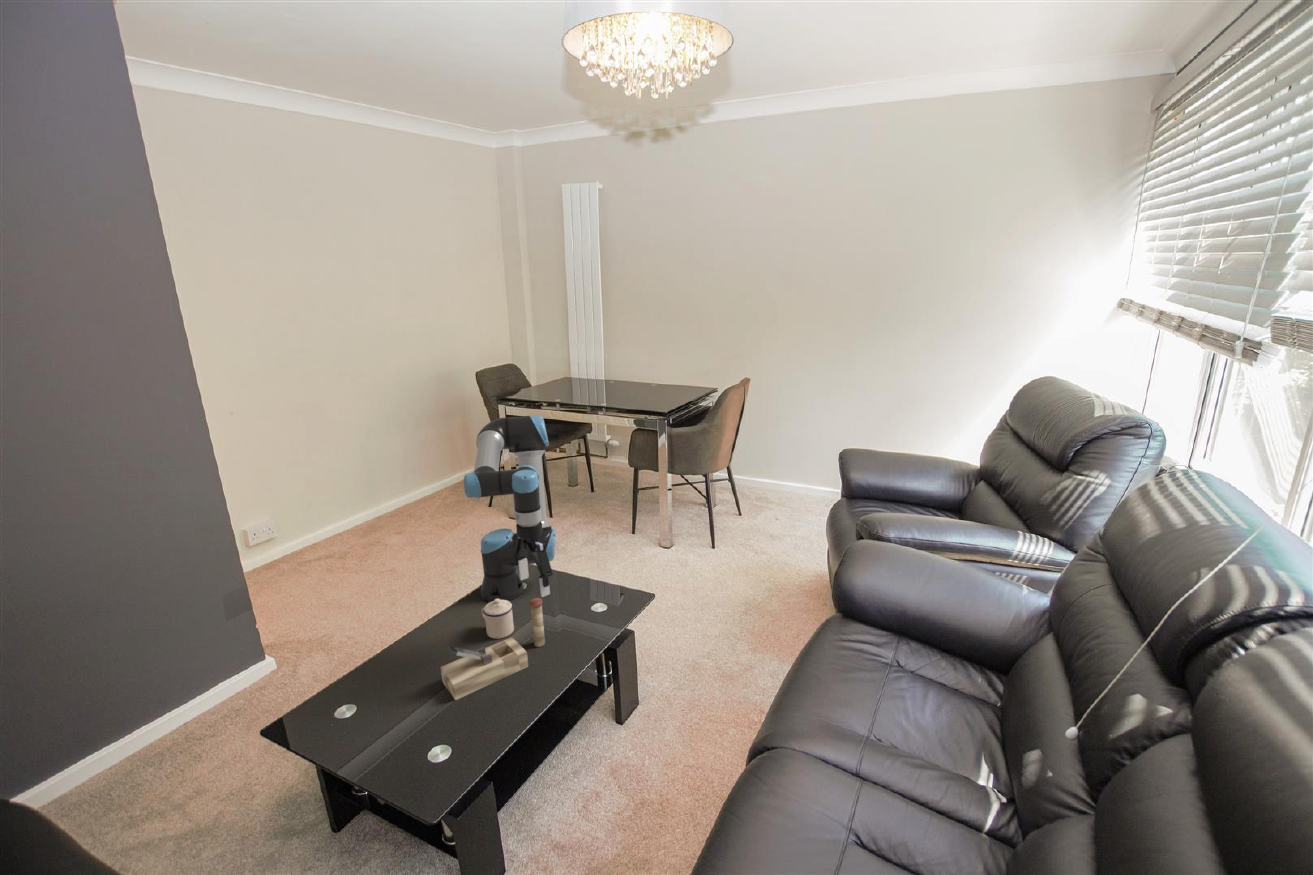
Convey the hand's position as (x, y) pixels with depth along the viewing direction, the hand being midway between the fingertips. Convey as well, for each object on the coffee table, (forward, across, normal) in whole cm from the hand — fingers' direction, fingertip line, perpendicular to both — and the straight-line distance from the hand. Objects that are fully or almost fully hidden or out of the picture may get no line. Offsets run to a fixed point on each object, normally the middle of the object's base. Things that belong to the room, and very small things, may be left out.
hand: (534, 586), depth 179 cm
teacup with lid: (+20, -16, -7) cm, 27 cm away
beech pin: (+20, 0, 0) cm, 20 cm away
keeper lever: (+11, +3, -24) cm, 27 cm away
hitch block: (+20, +3, -19) cm, 28 cm away
